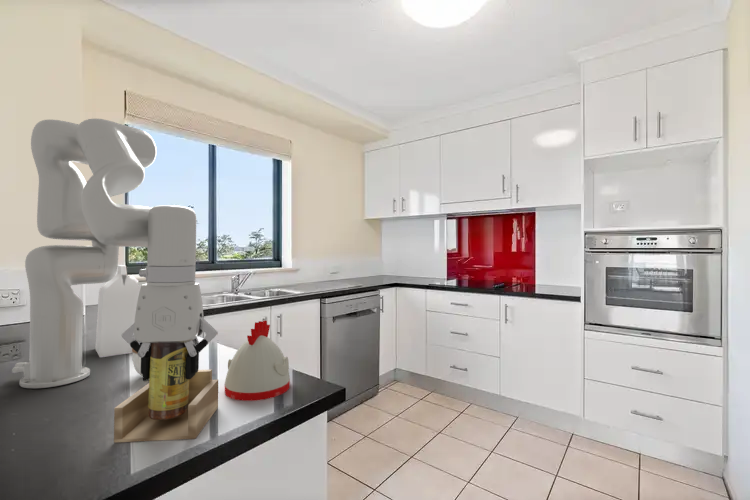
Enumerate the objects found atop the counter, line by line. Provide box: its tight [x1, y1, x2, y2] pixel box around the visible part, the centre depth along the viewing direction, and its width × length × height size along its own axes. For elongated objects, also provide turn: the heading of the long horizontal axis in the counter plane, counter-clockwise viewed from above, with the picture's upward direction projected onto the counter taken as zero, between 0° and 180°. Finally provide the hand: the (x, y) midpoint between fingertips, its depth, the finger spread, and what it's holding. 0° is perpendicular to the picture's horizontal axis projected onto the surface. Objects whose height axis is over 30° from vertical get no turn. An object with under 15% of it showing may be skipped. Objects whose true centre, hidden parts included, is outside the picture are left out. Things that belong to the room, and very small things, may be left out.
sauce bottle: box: [148, 342, 189, 420], centre depth 65 cm, size 7×6×20 cm
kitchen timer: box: [224, 320, 291, 402], centre depth 83 cm, size 14×14×15 cm
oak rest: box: [113, 369, 219, 444], centre depth 66 cm, size 12×12×8 cm
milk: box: [94, 264, 141, 358], centre depth 114 cm, size 12×12×26 cm
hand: (170, 376), depth 65 cm, fingers open, 6 cm apart
